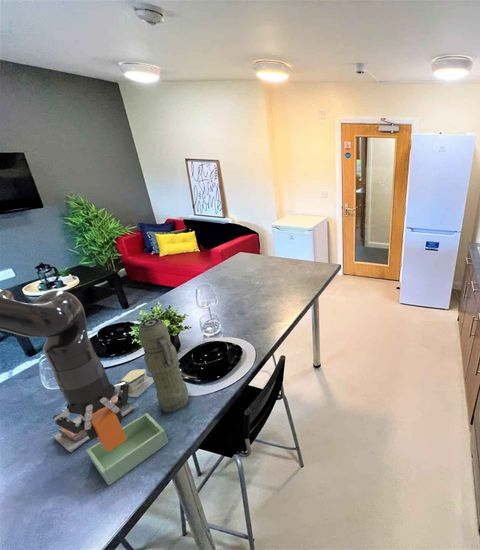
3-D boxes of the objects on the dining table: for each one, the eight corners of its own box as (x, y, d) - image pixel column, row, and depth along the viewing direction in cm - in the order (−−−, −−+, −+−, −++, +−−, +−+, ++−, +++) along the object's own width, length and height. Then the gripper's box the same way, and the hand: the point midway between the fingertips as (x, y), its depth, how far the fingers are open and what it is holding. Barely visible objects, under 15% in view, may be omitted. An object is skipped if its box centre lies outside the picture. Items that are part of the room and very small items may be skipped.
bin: (108, 485, 80) (102, 473, 78) (92, 462, 85) (85, 450, 83) (168, 442, 92) (164, 430, 90) (151, 424, 98) (146, 412, 95)
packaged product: (115, 389, 104) (131, 399, 101) (119, 399, 106) (135, 409, 103) (48, 429, 89) (64, 442, 86) (54, 439, 91) (70, 453, 88)
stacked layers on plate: (137, 397, 107) (133, 386, 105) (115, 394, 108) (111, 383, 106) (158, 378, 117) (154, 367, 114) (138, 375, 117) (134, 364, 115)
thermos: (176, 388, 112) (152, 311, 98) (197, 399, 108) (176, 320, 93) (152, 405, 104) (123, 324, 90) (174, 417, 100) (147, 334, 86)
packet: (107, 452, 70) (95, 428, 66) (96, 437, 73) (84, 414, 70) (127, 439, 73) (116, 416, 70) (115, 426, 76) (104, 402, 73)
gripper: (113, 352, 72) (133, 402, 79) (31, 389, 61) (62, 443, 68) (126, 364, 68) (146, 415, 75) (42, 405, 57) (74, 461, 64)
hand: (106, 428), depth 72 cm, fingers closed on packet, 4 cm apart
